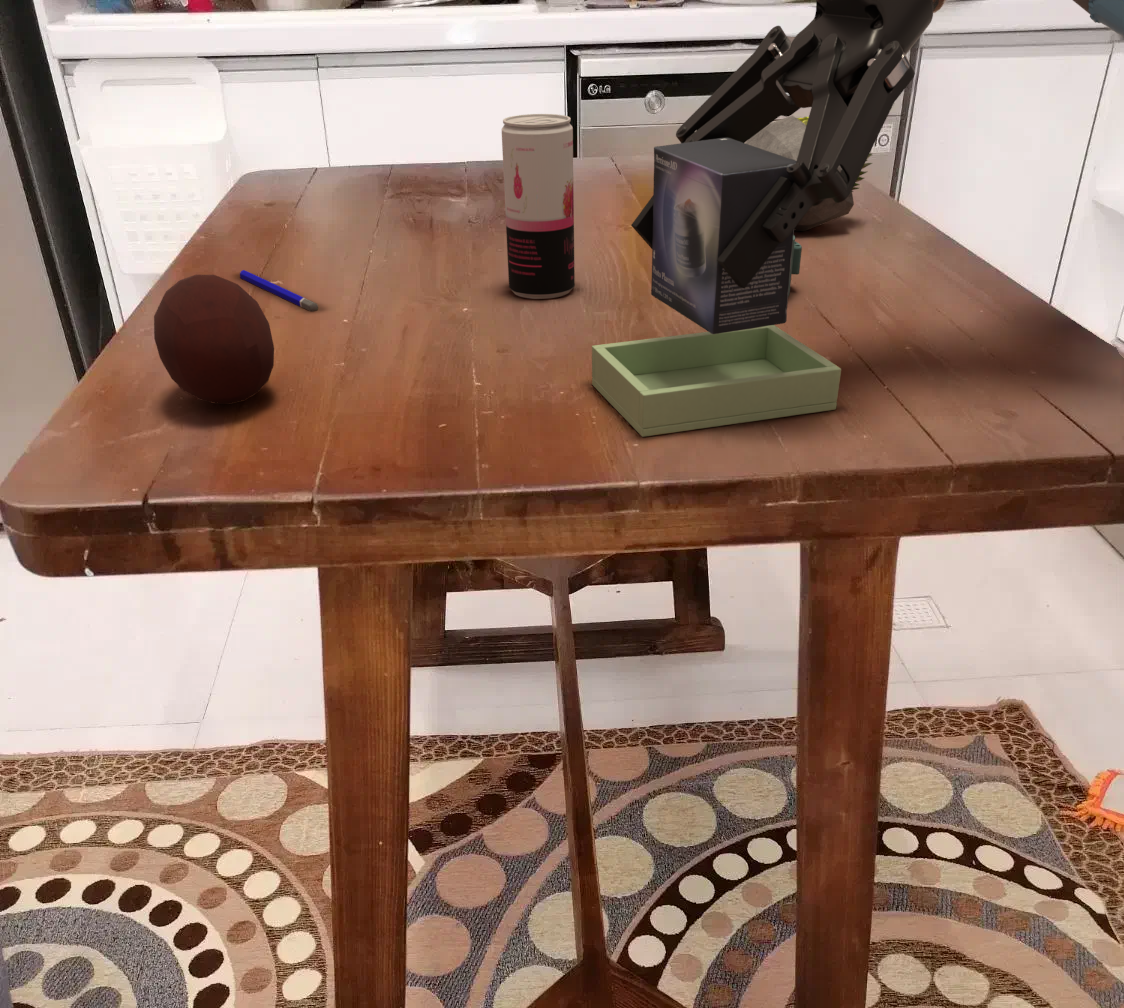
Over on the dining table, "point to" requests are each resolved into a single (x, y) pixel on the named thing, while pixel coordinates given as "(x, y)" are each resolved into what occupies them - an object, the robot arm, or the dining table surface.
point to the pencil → (279, 291)
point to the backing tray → (713, 379)
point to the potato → (214, 339)
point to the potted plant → (787, 143)
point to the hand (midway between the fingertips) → (685, 255)
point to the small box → (715, 233)
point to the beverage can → (539, 204)
